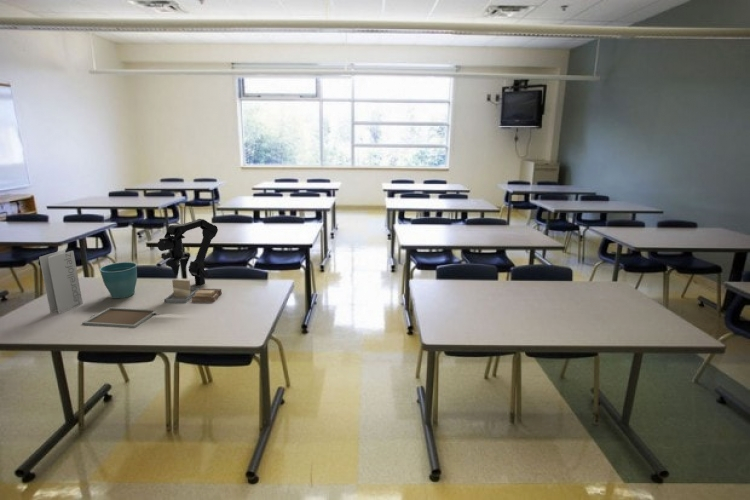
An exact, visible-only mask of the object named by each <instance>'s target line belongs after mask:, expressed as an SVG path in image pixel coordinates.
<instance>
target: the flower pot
mask: <svg viewBox="0 0 750 500" xmlns="http://www.w3.org/2000/svg"><path fill="white" fill-rule="evenodd" d="M137 266H138V264H137V263H135V262H129V261H128V262H127V261H125V262H115V263H110V264H107V265H104V266H102V267H100V268H99V271H100V275H101V277H102V281H103V283H104V286H105V288H106V289H107V291H108V293H109V295H110V297H111V298H113V299H123V298H129V297H131V296H133V295H135V292H136V291H135V290H136V286H137V281H138V272H137V270H138V269H137Z"/></svg>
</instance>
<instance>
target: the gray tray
mask: <svg viewBox="0 0 750 500" xmlns="http://www.w3.org/2000/svg"><path fill="white" fill-rule="evenodd" d="M190 289H191V294H190V295H189V296H188V297H186V298H184V299H183V298H173V297H175V296H174V292H172V293H171V294H169V295H168V296H167V297H166V298H164V299H163V300H164V303H187V302H189V300H191V299H192V296H193V295H195V293H196V292H197V291H198V290H200V289H201V288H200V287H190Z"/></svg>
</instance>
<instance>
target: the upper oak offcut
mask: <svg viewBox="0 0 750 500" xmlns="http://www.w3.org/2000/svg"><path fill="white" fill-rule="evenodd" d="M214 294H215V293H214V291H208V290H198V291H197V292H196V293H195V296H196V297H212V296H213V295H214Z"/></svg>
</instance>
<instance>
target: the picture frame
mask: <svg viewBox="0 0 750 500" xmlns="http://www.w3.org/2000/svg"><path fill="white" fill-rule="evenodd" d="M155 311H156V309H143V308H130V307H129V308H128V307H127V308H126V307H112V306H111V307H107V308H105V309H104V310H101V312H98V313H95V314H91V315H90V318H88V319H86V320H85V321H83V322H81V324H82V325H84V326H103V327H115V328H116V327H117V328H119V327H120V328H134V329H135V328H137V327H139V326H141V325H142V324H143V323H145V322H146V321H147V320H149V319H151V318H152V317H153V316H155V315H156V314H157V313H153V312H155Z"/></svg>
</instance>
